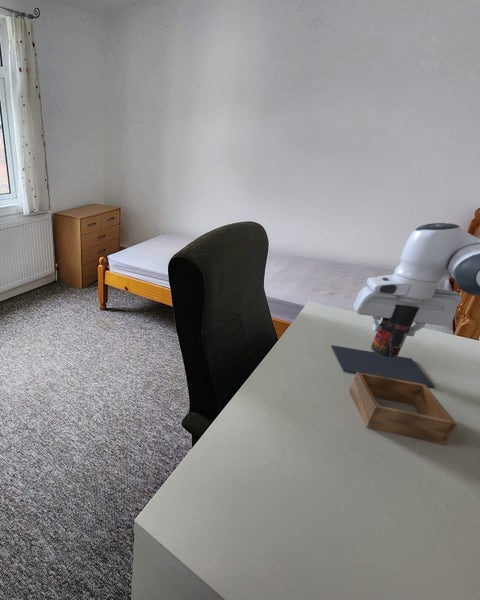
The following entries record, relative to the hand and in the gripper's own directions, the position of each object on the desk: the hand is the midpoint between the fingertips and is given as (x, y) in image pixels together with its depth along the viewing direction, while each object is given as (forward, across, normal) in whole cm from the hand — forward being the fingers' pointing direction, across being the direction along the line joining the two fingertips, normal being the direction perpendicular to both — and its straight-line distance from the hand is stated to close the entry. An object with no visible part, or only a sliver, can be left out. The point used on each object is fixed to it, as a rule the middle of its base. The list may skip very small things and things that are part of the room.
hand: (391, 332), depth 93 cm
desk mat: (+11, 0, 0) cm, 11 cm away
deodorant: (+6, 0, 0) cm, 6 cm away
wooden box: (+11, +4, +23) cm, 26 cm away
